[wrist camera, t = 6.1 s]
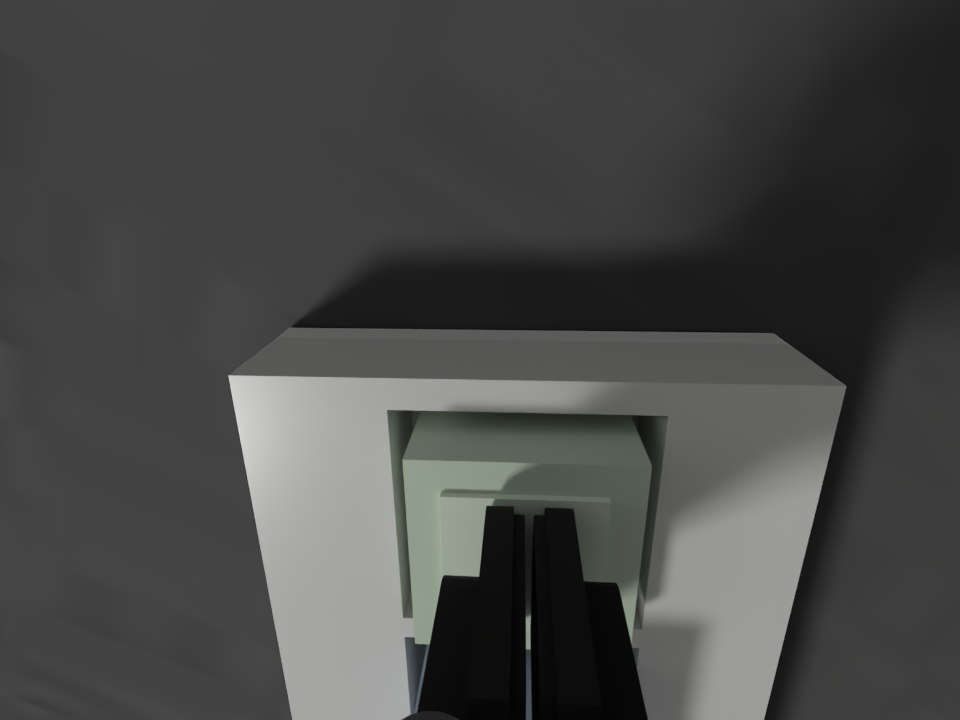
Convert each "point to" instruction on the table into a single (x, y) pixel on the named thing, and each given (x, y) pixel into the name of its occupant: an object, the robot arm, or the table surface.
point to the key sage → (523, 495)
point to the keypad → (535, 389)
